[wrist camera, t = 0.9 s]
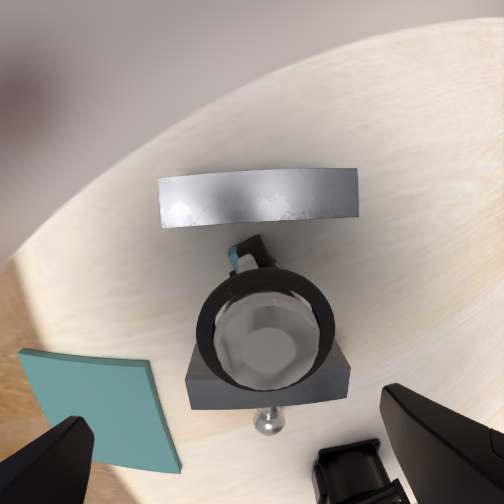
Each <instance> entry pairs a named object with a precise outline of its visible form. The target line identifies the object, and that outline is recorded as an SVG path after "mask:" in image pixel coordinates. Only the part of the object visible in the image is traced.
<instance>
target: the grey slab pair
mask: <svg viewBox="0 0 504 504" xmlns="http://www.w3.org/2000/svg"><path fill="white" fill-rule="evenodd" d="M158 189H159V203H160V215H161V226H162V228H172V227H185V226H199V225H213V224H227V223H243V222H260V221H278V220H298V219H320V218H346V217H359V200H358V174H357V168H306V169H273V170H252V171H235V172H221V173H208V174H197V175H187V176H177V177H168V178H159V179H158ZM350 370H351V367H350V365H349V364H348V362H347V360H346V358H345V356H344V355H343V353H342V351H341V349H340V348H339V346H338V344H337V342H336V341H335V339H334V341H333V345H332V348H331V350H330V352H329V354H328V356H327V358H326V360H325V361H324V363H323V364H322V365H321V366H320V368H319V369H318V370H317V371H316V372H315V373H313V374H312V375H311V376H310V377H308V378H307V379H305V380H304V381H302V382H300V383H299V384H296V385H294V386H292V387H289V388H286V389H283V390H278V391H272V392H254V391H248V390H244V389H240V388H237V387H235V386H232V385H230V384H228V383H226V382H225V381H223V380H222V379H220V378H219V377H218V376H216V375H215V374H214V373H213V372H212V371H211V370H210V369H209V367H208V366H207V365H206V363H205V362H204V360H203V358H202V356H201V354H200V352H199V349H198V345H197V344H195V347H194V351H193V354H192V357H191V361H190V364H189V368H188V371H187V374H186V378H185V382H186V387H187V392H188V396H189V401H190V405H191V409H192V410H229V409H253V408H258V411H257V412H256V414H255V415H254V418H253V424H254V427H255V429H256V430H257V431H258V432H259V433H261V434H263V435H267V436H271V435H275V434H277V433H279V432H280V431H281V430H282V429H283V427H284V424H285V417H284V414H283V413H282V412H281V410H280V407H281V406H291V405H300V404H309V403H316V402H324V401H330V400H337V399H343V398H347V392H348V385H349V377H350Z"/></svg>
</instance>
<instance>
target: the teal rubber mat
mask: <svg viewBox="0 0 504 504" xmlns="http://www.w3.org/2000/svg"><path fill="white" fill-rule="evenodd" d="M17 354H18V357H19V359H20V362H21V364H22V367H23V369H24V372H25V374H26V376H27V379H28V381H29V383H30V385H31V388H32V390H33V392H34V394H35V396H36V398H37V400H38V402H39V404H40V406H41V408H42V410H43V412H44V414H45V416H46V418H47V420H48V422H49V423H50V425H51V427H52V428H53V427H54V426H56V425H57V424H59V423H60V422H62V421H63V420H65V419H66V418H68V417H69V416H71V415H76V416H82V417H83V418H84V419H85V420H86V422H87V424H88V425H89V427H90V428H91V430H92V431H93V433H94V436H95V442H94V448H93V455H92V460H93V461H97V462H102V463H106V464H111V465H116V466H122V467H127V468H133V469H140V470H147V471H155V472H163V473H174V474H181V469H182V467H181V464H180V461H179V459H178V456H177V453H176V451H175V448H174V445H173V442H172V439H171V436H170V433H169V430H168V427H167V424H166V421H165V418H164V415H163V412H162V408H161V405H160V402H159V398H158V395H157V391H156V388H155V384H154V381H153V377H152V373H151V369H150V365H149V361H142V360H122V359H107V358H94V357H83V356H74V355H65V354H57V353H49V352H42V351H35V350H29V349H21V350H20V351H19V352H18V353H17Z"/></svg>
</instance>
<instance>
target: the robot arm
mask: <svg viewBox="0 0 504 504" xmlns="http://www.w3.org/2000/svg"><path fill="white" fill-rule="evenodd" d="M380 413H381V416H382V419H383V422H384V424H385V427H386V430H387V433H388V436H389V439H390V442H391V445H392V448H393V451H394V453H395V456H396V458H397V460H398V462H399V464H400V466H401V468H402V470H403V472H404V474H405V477H406V479H407V481H408V483H409V485H410V487H411V489H412V491H413V493H414V496H415V498H416V500H417V502H418V504H504V433H501V432H499V431H496V430H494V429H492V428H490V429H489V427H487V426H485V425H483V424H481V423H478V422H476V421H474V420H472V419H470V418H468V417H465V416H463V415H461V414H459V413H457V412H455V411H453V410H451V409H449V408H447V407H444V406H442V405H440V404H438V403H436V402H434V401H432V400H430V399H428V398H426V397H424V396H422V395H420V394H418V393H416V392H414V391H412V390H410V389H408V388H406V387H404V386H402V385H400V384H398V383H393V384H389V385H386V386H384V387H383V389H382V394H381V400H380ZM94 442H95V436H94V433H93V431H92V430H91V428H90V427H89V425H88V424H87V422H86V420H85V419H84V418H83V417H82V416H76V415H71V416H69V417H68V418H66V419H65V420H63V421H62V422H60V423H59V424H57V425H56V426H54V427H53V428H51V429H50V430H49V431H47V432H46V433H44V434H43V435H41V436H40V437H38V438H37V439H35V440H34V441H32V442H31V443H29V444H28V445H26V446H25V447H23V448H22V449H20V450H19V451H17V452H16V453H14V454H12V455H11V456H9V457H8V458H6V459H5V460H3V461H2V462H0V504H84V499H85V495H86V490H87V486H88V481H89V476H90V470H91V462H92V455H93V448H94ZM379 446H380V440H379V439H374V440H370V441H366V442H361V443H357V444H352V445H347V446H342V447H337V448H331V449H325V450H321V451H320V452H319V453H318V458H317V464H316V465H315V466H314V467H313V472H312V483H313V488H314V492H315V497H316V502H317V504H411V503H410V501H409V499H408V497H407V495H406V493H405V491H404V489H403V487H402V485H401V483H400V481H399V479H398V478H397V479H395V480H393V482H391V481H390V479H389V477H388V474H387V472H386V470H385V468H384V466H383V463H382V461H381V459H380V457H379V455H378V453H377V452H378V449H379ZM399 500H401V501H399Z"/></svg>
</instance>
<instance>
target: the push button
mask: <svg viewBox="0 0 504 504" xmlns="http://www.w3.org/2000/svg"><path fill="white" fill-rule="evenodd" d="M228 257H229V259H230V261H231V263H232V265H233V267H234V269H235V270H234V271H231V272H230V274H229V275H230V278H229V279H227V280H225V281H224V282H223V283H221V284H220V285H219V286H218V287H217V288H215V289H214V290H213V292H212V293H211V294H210V295H209V297H208V298H207V299H206V301H205V303H204V305H203V307H202V309H201V312H200V314H199V317H198V321H197V328H196V339H197V345H198V349H199V352H200V354H201V356H202V358H203V360H204V362H205V363H206V365H207V366H208V367H209V369H210V370H211V371H212V372H213V373H214V374H215V375H216V376H218V377H219V378H220V379H222V380H223V381H225V382H226V383H228V384H230V385H232V386H235V387H237V388H240V389H244V390H248V391H254V392H272V391H278V390H283V389H286V388H289V387H292V386H294V385H296V384H299V383H300V382H302V381H304V380H305V379H307V378H308V377H310V376H311V375H312V374H313V373H315V372H316V371H317V370H318V369H319V368H320V366H321V365H322V364H323V363H324V361H325V360H326V358H327V356H328V354H329V352H330V350H331V348H332V345H333V341H334V336H335V320H334V316H333V312H332V309H331V307H330V305H329V303H328V301H327V299H326V298H325V296H324V295H323V294H322V292H321V291H320V290H319V289H318V288H317V287H316V286H315V285H314V284H313V283H312V282H310V281H309V280H308V279H306V278H305V277H303V276H301V275H299V274H297V273H294V272H291V271H288V270H284V269H280V267H279V265H278V263H277V261H276V259H275V258H274V259H275V262H276V263H275V264H273V263H272V262H271V260H270V257H269V255H268V253H267V250H266V248H265V245H264V243H263V241H262V239H261V237H260V235H257V236H254V237H252V238H250V239H248V240H246V241H244V242H242V243H240V244H238V245H236V246H234V247H231V248H229V254H228ZM294 292H295V293H297V294H299V295H300V296H302V297H303V298H305V299H306V300H307V301H308V302H309V303H310V304H311V307H312V311H310V310H309V309H308V308H307V307H306V306H305V305H304V304H303V303H302V301H301V300H300V298H299V297H298V296H297V295H296V294H295V293H294ZM227 301H228V302H227ZM226 302H227V304H226V307H225V309H224V312H223V315H222V316H221V318H220V319H219V320H218V322H217V325H216V326H215V317H216V315H217V314H218V312H219V310H220V309H221V308H222V306H223V305H224V304H225V303H226Z"/></svg>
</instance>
